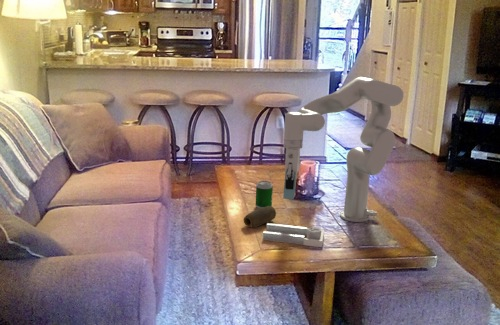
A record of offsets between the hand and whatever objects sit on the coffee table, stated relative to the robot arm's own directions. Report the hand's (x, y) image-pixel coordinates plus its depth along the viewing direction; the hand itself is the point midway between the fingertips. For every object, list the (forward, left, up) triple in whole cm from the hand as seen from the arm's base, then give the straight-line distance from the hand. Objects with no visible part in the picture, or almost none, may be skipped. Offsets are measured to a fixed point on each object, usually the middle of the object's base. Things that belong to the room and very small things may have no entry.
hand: (290, 186), depth 206 cm
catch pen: (-11, +10, -18) cm, 23 cm away
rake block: (0, 0, -5) cm, 5 cm away
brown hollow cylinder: (+12, -1, -19) cm, 22 cm away
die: (-11, +11, -18) cm, 24 cm away
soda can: (+14, -20, -18) cm, 31 cm away
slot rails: (0, +10, -18) cm, 21 cm away
